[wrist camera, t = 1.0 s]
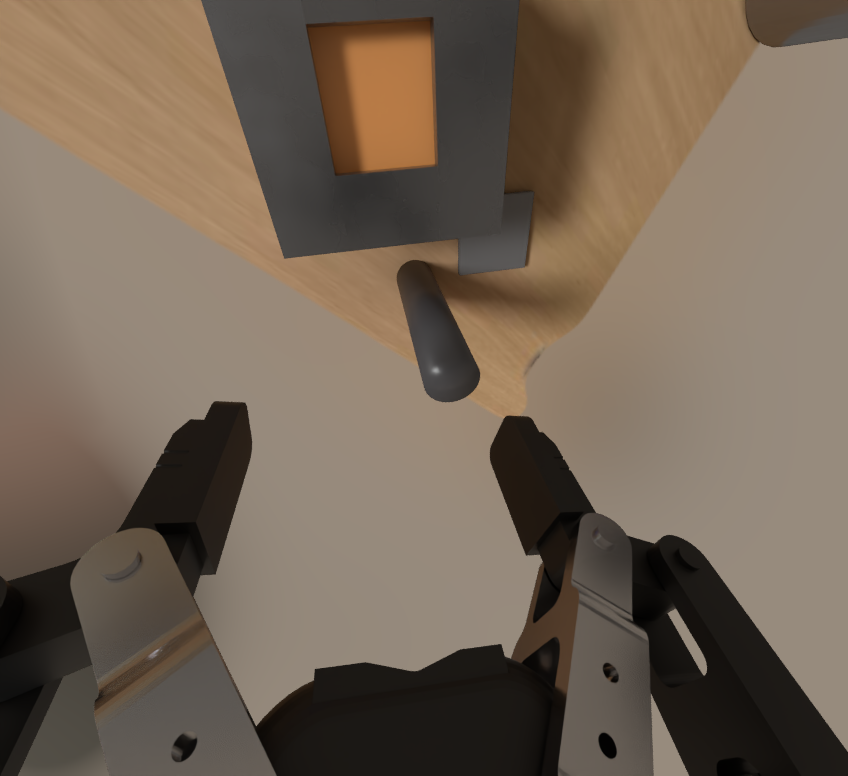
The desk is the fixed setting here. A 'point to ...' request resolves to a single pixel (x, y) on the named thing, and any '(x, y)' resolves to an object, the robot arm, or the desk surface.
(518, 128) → the desk surface
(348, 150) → the button
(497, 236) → the pad
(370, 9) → the grey boxy frame
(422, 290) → the handle
